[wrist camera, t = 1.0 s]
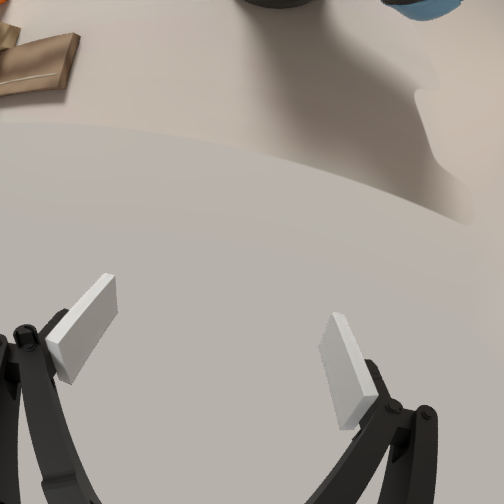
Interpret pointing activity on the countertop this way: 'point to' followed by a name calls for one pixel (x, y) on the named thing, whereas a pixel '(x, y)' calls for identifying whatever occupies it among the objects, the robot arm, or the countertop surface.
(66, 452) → the robot arm
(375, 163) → the countertop surface
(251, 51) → the countertop surface
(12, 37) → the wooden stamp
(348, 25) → the countertop surface
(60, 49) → the plank
